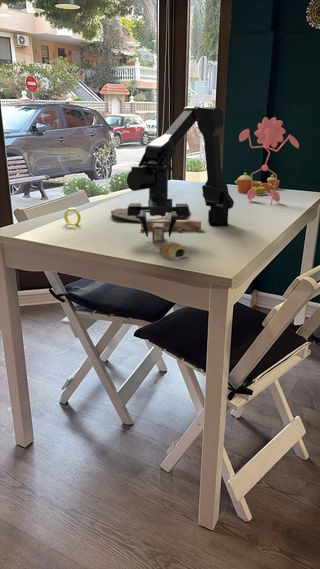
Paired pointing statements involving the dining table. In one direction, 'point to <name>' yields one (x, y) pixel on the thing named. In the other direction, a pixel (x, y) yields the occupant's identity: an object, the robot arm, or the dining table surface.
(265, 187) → the toy tea set
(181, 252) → the pastry
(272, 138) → the figurine
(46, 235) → the dining table surface
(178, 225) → the rail
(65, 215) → the gold ring
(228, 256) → the dining table surface
